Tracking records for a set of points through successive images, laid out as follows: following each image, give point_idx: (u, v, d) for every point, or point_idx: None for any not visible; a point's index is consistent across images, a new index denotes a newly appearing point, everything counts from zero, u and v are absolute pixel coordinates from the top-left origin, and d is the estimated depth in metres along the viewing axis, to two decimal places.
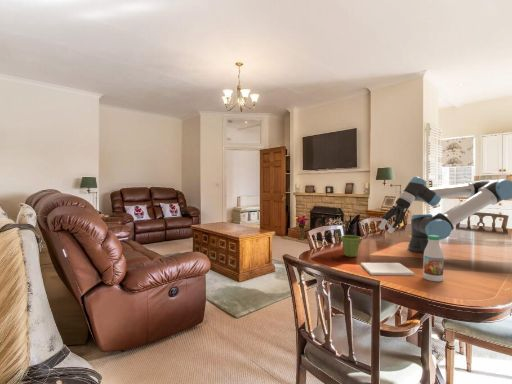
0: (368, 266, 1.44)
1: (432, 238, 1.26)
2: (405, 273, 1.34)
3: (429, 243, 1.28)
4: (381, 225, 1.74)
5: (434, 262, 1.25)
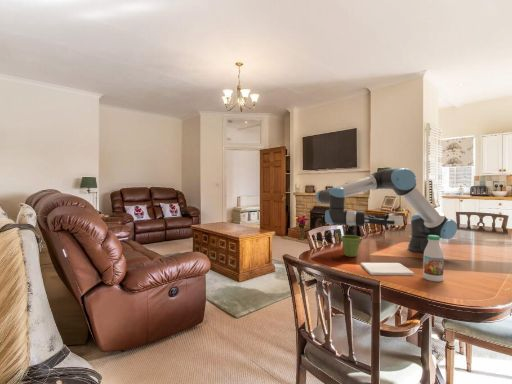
0: (368, 266, 1.44)
1: (432, 238, 1.26)
2: (405, 273, 1.34)
3: (429, 243, 1.28)
4: (398, 219, 1.40)
5: (434, 262, 1.25)
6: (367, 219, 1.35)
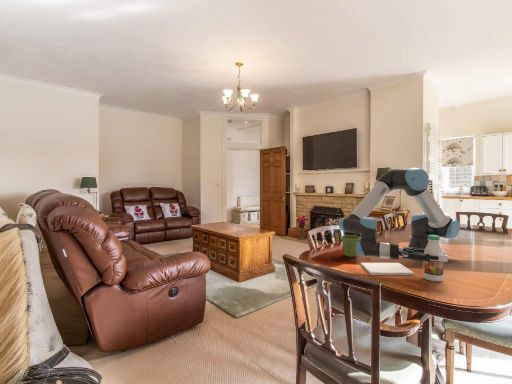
0: (368, 266, 1.44)
1: (432, 238, 1.26)
2: (405, 273, 1.34)
3: (429, 243, 1.28)
4: None
5: (434, 261, 1.25)
6: (407, 254, 1.27)
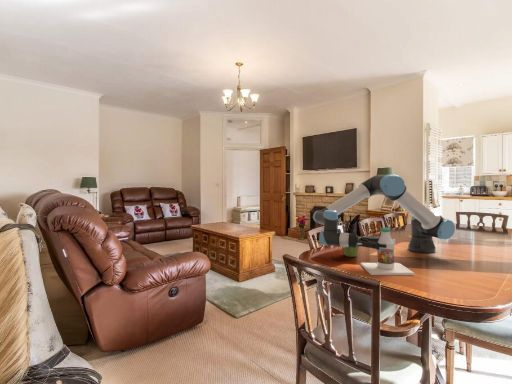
0: (368, 266, 1.44)
1: (383, 230, 1.40)
2: (405, 273, 1.34)
3: (381, 235, 1.41)
4: None
5: (385, 251, 1.39)
6: (360, 242, 1.41)
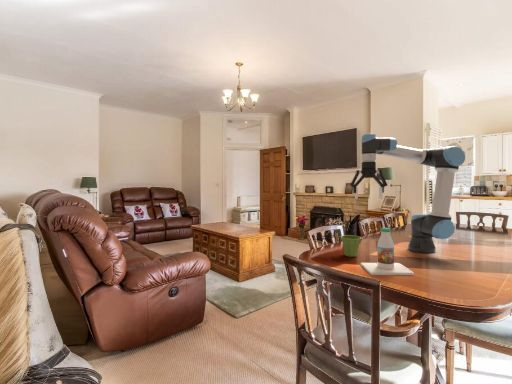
0: (368, 266, 1.44)
1: (384, 230, 1.40)
2: (405, 273, 1.34)
3: (382, 235, 1.41)
4: None
5: (385, 251, 1.39)
6: None
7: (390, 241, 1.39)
